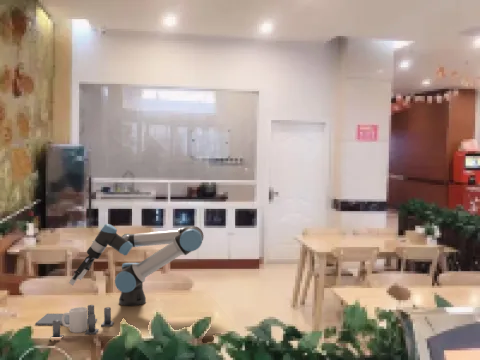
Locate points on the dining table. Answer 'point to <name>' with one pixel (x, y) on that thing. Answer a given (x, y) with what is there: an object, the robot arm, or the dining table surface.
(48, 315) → the mat
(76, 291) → the dining table surface
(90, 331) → the posts
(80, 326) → the cup
